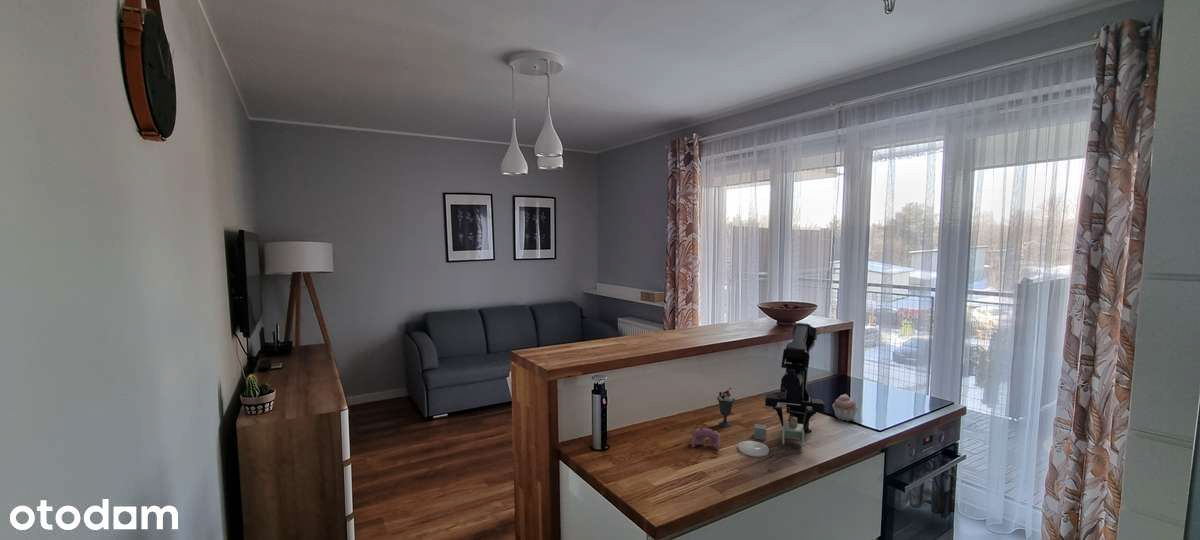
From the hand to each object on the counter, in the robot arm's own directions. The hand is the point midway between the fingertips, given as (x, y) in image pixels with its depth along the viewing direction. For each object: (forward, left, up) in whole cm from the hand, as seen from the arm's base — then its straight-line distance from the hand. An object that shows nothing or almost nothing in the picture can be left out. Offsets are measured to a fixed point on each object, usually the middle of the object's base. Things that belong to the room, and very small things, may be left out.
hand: (793, 427), depth 163 cm
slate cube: (+7, -9, -7) cm, 13 cm away
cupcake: (-36, -18, -7) cm, 41 cm away
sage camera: (0, 0, -5) cm, 5 cm away
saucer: (+15, 0, -7) cm, 16 cm away
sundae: (+14, -22, -7) cm, 27 cm away
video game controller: (+30, -6, -7) cm, 31 cm away
